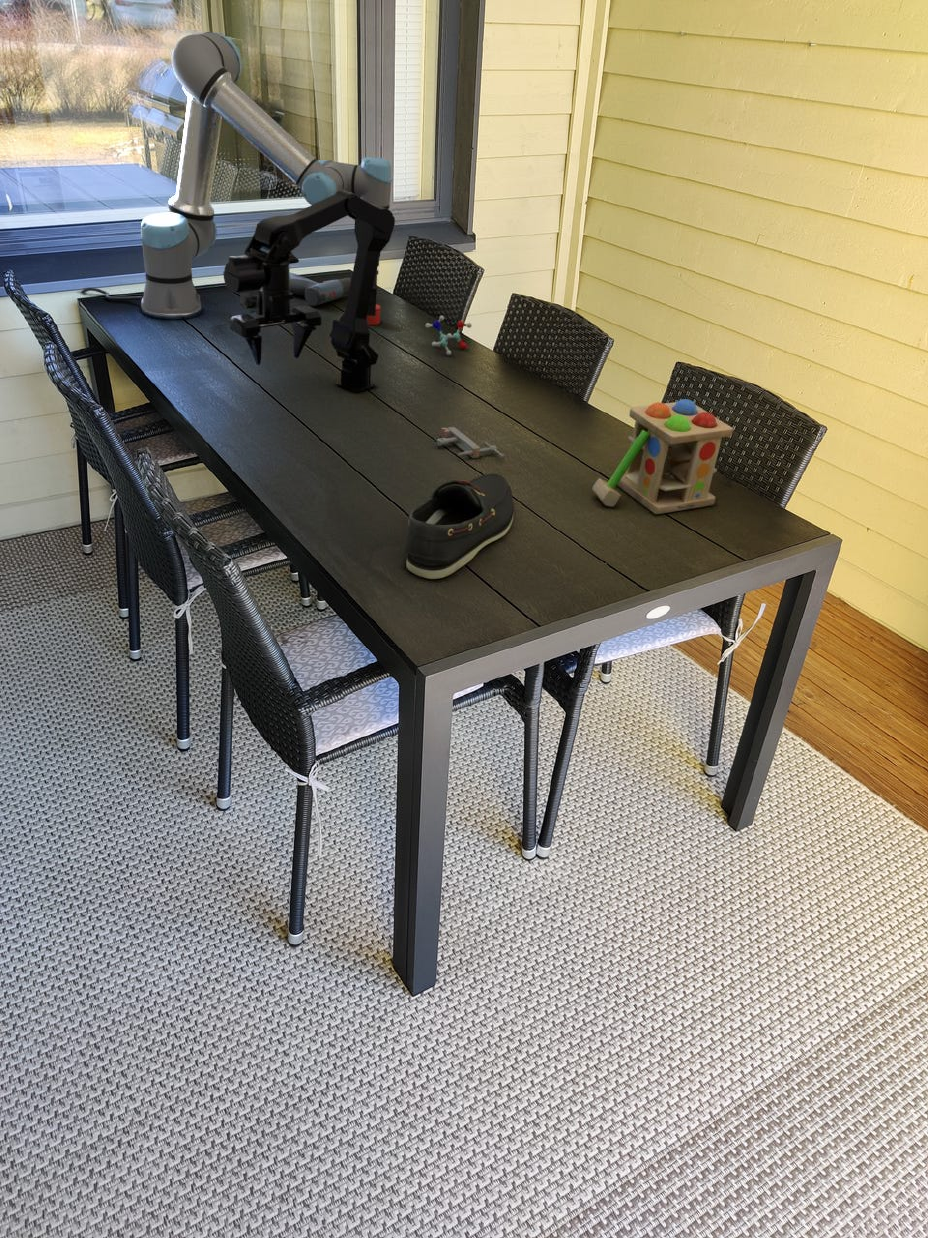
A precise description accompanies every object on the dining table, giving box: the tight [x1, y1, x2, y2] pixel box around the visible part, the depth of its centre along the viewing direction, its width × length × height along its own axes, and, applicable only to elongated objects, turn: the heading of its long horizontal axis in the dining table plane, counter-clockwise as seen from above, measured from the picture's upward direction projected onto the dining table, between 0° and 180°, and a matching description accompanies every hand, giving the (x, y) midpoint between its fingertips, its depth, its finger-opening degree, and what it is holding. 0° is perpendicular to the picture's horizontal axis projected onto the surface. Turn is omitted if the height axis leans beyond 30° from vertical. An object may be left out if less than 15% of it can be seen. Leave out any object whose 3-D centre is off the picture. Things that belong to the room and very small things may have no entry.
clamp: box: [436, 426, 507, 460], centre depth 201 cm, size 15×2×10 cm
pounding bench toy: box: [591, 398, 734, 515], centre depth 186 cm, size 23×14×18 cm, turn 116°
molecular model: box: [424, 315, 472, 356], centre depth 250 cm, size 12×10×10 cm
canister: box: [367, 303, 381, 326], centre depth 264 cm, size 5×5×4 cm
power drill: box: [289, 271, 352, 307], centre depth 280 cm, size 5×19×20 cm
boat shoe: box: [403, 472, 515, 580], centre depth 170 cm, size 13×33×10 cm, turn 147°
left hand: (370, 307), depth 263 cm, fingers open, 13 cm apart
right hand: (277, 360), depth 208 cm, fingers open, 9 cm apart
